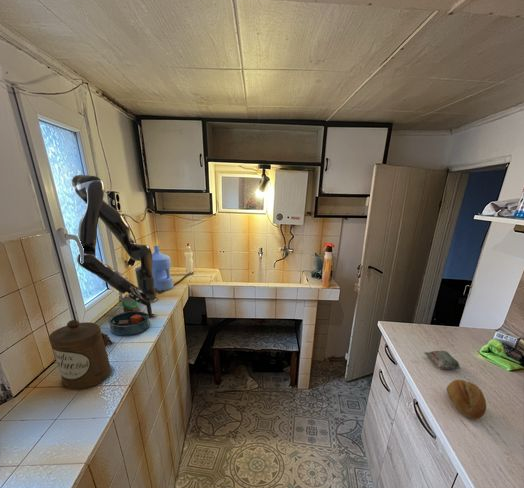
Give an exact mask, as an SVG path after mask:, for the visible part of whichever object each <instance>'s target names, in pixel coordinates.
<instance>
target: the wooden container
mask: <svg viewBox="0 0 524 488" xmlns="http://www.w3.org/2000/svg"><path fill="white" fill-rule="evenodd" d="M102 333H103V332H102V330H101V327H100V325H99V324H97V323H95V322H87V321H86V322H79V320H75V319H71V320H69V321H68V322H67V323H66V325H64V326H62V327H58V328H57V329H55V330H54V331H52V332H51V333H50V334H49V336H48V341H49V344H50V346H51V348H52V351H53V353H54V357H55V360H56V365H57V368H58V370H59V373H60V375H61V379H62V382H63V384H64V386H65V387H67V388H70V389H75V390H76V389H77V390H78V389H87V388H90V387H93V386H97V385H98V384H100V383H102V382H104V381H105V380H107V379H108V378H109V376H110V375H111V373H112V369H111V368H112V367H111V364H110V359H109V355H108V352H107V348H106V346H105V344H104V341H103V337H102Z"/></svg>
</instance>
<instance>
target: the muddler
mask: <svg viewBox="0 0 524 488" xmlns="http://www.w3.org/2000/svg"><path fill="white" fill-rule="evenodd" d="M145 300H146V301H148V302H149V305H148V306H146V305H145V307H146V313H147V314H148V315H149V319H153V318H155V314H154V313H153V311H152V302H151V303H150V297H145Z"/></svg>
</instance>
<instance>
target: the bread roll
mask: <svg viewBox="0 0 524 488" xmlns="http://www.w3.org/2000/svg"><path fill="white" fill-rule="evenodd" d="M446 393H447V395H448V398H449V399H450V401H451V403H452V405H454V407H455V409H456V410H458V412H460V413H461V414H462V415H463V416H465V417H467V418H469V419H472V420H478V419H481V418H482V417H483V416H484V415H485V414H486V410H487V401H486V397H485V395H484V393H483V391H482V390H481V389H480V387H479V386H478V385H477V384H475V383H472V382H470V381H467V380H463V379H454V380H452V381H451V382H450V383H449V384H448V385H447V386H446Z"/></svg>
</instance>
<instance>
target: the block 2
mask: <svg viewBox="0 0 524 488" xmlns="http://www.w3.org/2000/svg"><path fill="white" fill-rule="evenodd" d="M130 320H131V325H134V324H138V323H140V322H143V316H142V315H134V316H132V317H130Z"/></svg>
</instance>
